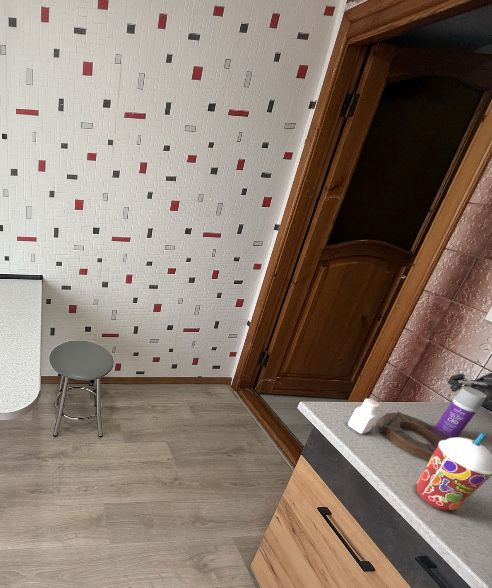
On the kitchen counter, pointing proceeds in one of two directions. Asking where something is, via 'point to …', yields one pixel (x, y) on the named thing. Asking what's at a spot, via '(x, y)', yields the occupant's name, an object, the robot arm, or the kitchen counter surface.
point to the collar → (393, 431)
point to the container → (460, 411)
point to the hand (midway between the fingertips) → (474, 398)
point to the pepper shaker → (364, 416)
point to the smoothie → (455, 472)
